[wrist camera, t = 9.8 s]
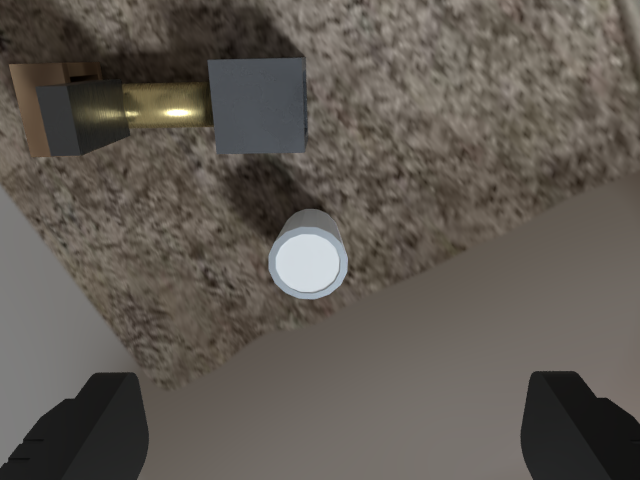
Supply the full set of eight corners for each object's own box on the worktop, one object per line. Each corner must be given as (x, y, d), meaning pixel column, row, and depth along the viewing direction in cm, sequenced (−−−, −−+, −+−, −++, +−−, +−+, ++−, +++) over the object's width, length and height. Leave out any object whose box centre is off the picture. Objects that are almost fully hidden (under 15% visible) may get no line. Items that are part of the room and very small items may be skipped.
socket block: (99, 61, 42) (61, 63, 36) (114, 142, 44) (80, 156, 38) (54, 62, 42) (8, 64, 36) (71, 143, 44) (31, 157, 38)
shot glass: (321, 189, 45) (320, 211, 39) (358, 246, 47) (362, 276, 41) (262, 224, 47) (252, 252, 40) (300, 278, 49) (296, 313, 42)
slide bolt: (223, 75, 40) (185, 83, 30) (228, 128, 42) (193, 154, 31) (72, 78, 41) (-20, 87, 30) (83, 130, 42) (-2, 157, 32)
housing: (305, 57, 41) (301, 57, 35) (308, 138, 44) (304, 152, 38) (225, 59, 41) (207, 59, 35) (232, 140, 44) (216, 154, 38)
